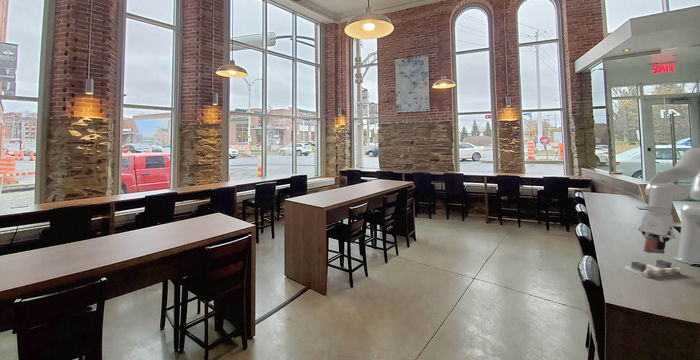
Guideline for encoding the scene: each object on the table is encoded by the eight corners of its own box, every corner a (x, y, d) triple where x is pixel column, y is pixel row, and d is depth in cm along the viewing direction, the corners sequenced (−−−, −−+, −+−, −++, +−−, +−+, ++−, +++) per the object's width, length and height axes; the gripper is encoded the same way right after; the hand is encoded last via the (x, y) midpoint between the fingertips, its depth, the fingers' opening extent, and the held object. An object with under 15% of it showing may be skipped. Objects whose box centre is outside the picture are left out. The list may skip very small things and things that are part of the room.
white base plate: (656, 266, 144) (658, 258, 143) (680, 274, 135) (681, 265, 135) (624, 269, 141) (625, 260, 140) (646, 277, 132) (647, 268, 131)
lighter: (660, 251, 138) (663, 231, 137) (666, 254, 134) (669, 233, 133) (641, 250, 139) (643, 230, 138) (646, 252, 136) (649, 232, 135)
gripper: (632, 207, 142) (628, 242, 144) (675, 214, 126) (670, 254, 128) (644, 207, 143) (640, 241, 145) (689, 214, 127) (683, 253, 129)
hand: (654, 247), depth 136 cm, fingers closed on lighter, 4 cm apart
